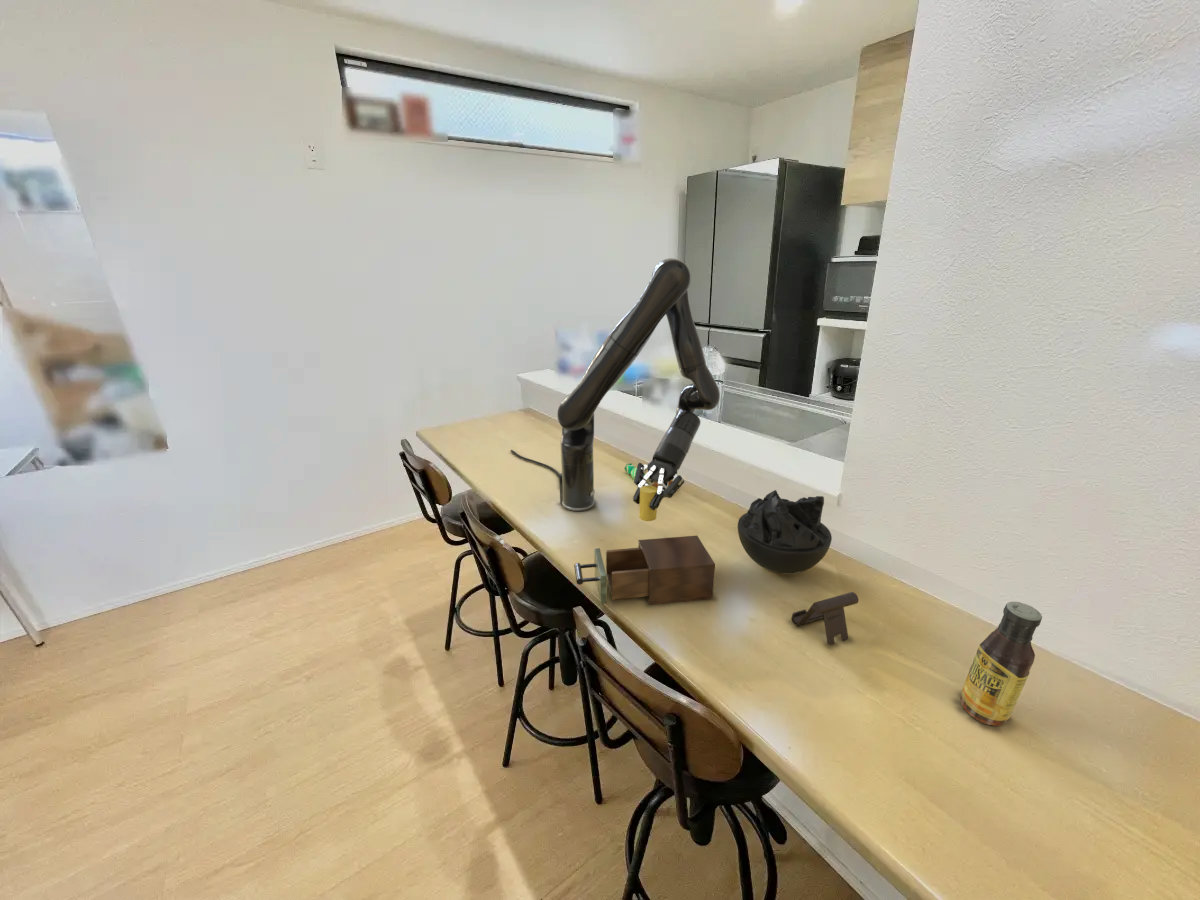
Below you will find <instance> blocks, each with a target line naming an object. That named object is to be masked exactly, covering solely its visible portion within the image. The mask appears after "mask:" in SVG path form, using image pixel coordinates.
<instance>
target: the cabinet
mask: <svg viewBox="0 0 1200 900" xmlns="http://www.w3.org/2000/svg"><path fill="white" fill-rule="evenodd" d="M637 543H638V545H637V548H641V551H642V553H643V556H644V558H645V561H646V563H647V566H648V569H649V596H645V597H646V600H647V603H648V605H649V606H651V605H664V604H673V603H684V602H691V601H692V602H695V601H704V600H712V599H713V594H714V583H715V571H716V563H715V562H714V559H713V558H712V557H711V554H710V553H709V552H708V549H706V547H705V545H704V543H703V542H702V541H701V539H700V537H699V535H686V536H685V535H684V536H674V537H673V536H672V537H662V538H661V537H660V538H648V539H638V541H637Z"/></svg>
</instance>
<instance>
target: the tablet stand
mask: <svg viewBox="0 0 1200 900" xmlns="http://www.w3.org/2000/svg"><path fill="white" fill-rule="evenodd" d="M858 603H859V596H858V595H857V593H856V592H854V591H850V592H847V593H843V594H840V595H835V596H833V597H830V598H829V597H828V598H826V599H822V600H819V601H815V602H813V604H811V606H810V607H809V608H808V610H807V609H802V610H798V611H794V612H792V614H791V618H790V619H791V622H792V624H793V625H794V626H801V625H803V624H806V623H810V622H813V621H816V620H820V619H823V622H824V630H825V636H826V642H827V644H828V645H829V646H832V645H834V644H835V637H837V636H840V639H841V641H842V642H844V641H847V640H848V639H849V633H848V627H847V620H846V613H845V608H847V607H849V606H852V605H857V604H858Z"/></svg>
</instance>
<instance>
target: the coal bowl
mask: <svg viewBox="0 0 1200 900" xmlns="http://www.w3.org/2000/svg"><path fill="white" fill-rule="evenodd" d="M824 505H825V497H824V496H823V495H817V496H808V497H805V496H803V497H801V498H798V499H797V500H796V501H794V500H793V501H792V500H789V499H786V498H782V497H780V495H779V493H778V491H777V489H775V490H773V491H771V492H769V493H767V494H766V495H765V496H764V497H763V499H762V498H760V497H759V498H757V499H755V500H753V501H752V502H751V503H750V505H749V506H750V507H749V508H748V510H747V512H745V513H743V514H742V515H741V516H740V517H739V518H738V521H737V534H738V539H739V541H740V544H741V546H742V547H743V548H742V549H744V551H745V553H746V554H747V556H748V557H749V558H750V559H751V560H752V561H753V562H755V563H756V565H758V566H760V567H762V568H763V569H765V570H767V571H770V572H773V573H777V574H783V575H791V574H792V575H793V574H799V573H802V572H805V571H807V570H810V569H811V568H813V567H815V566H816V565H817V564H818V563H820V562H821V561H822V560H823V559H824V557H825V555H826V554H827V553H828V551H829V549H830V547H831V545H832V540H833V536H832V533H831V531H830V529H829V528H828V527H827V526H826V525H825V524H824V523H822V522H821V521H822V515H823V508H824Z"/></svg>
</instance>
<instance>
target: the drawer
mask: <svg viewBox="0 0 1200 900" xmlns="http://www.w3.org/2000/svg"><path fill="white" fill-rule="evenodd" d="M593 551H594V554H593V556H594V557H593V559H594V562H593V563H585V564H584V563H583V564H580V562H576V563H575V564H574V565H573V568H574V575H575V580H576V581H575V582H576V584H577V585H580V586H581V585H583V584H584V583H591V582H595V583H596V588H597V593H598V596H599V602H600V604H601V605H604V604H605V605H606V604H607V603H608V599H607V598H608V590H607V587H608V588H609V592H610V595H611V599H612V600H621V599H622V600H623V599H632V598H642V597H646V596H649V569H648V566H647V563H646V561H645V558H644V556H643V553H642V551H641V548H638V547H630V548H617V549H615V548H614V549H606V550H605V564H604V559H603V556H602V552H601V548H600V547H598V548H596V547H595V548H594V549H593ZM588 568H589V569H591V568H594V576H593V577H583V571H582V569H588ZM607 583H608V584H607ZM607 585H608V586H607Z"/></svg>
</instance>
